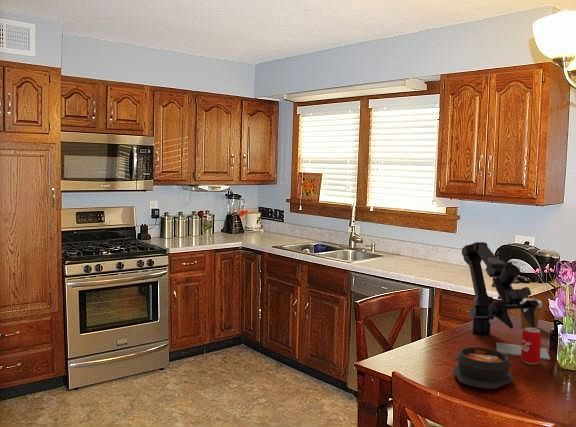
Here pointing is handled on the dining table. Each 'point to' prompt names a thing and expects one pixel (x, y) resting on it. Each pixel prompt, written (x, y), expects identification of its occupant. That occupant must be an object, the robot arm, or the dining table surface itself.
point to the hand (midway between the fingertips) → (523, 327)
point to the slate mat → (518, 350)
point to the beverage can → (531, 345)
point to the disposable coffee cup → (536, 314)
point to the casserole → (483, 368)
